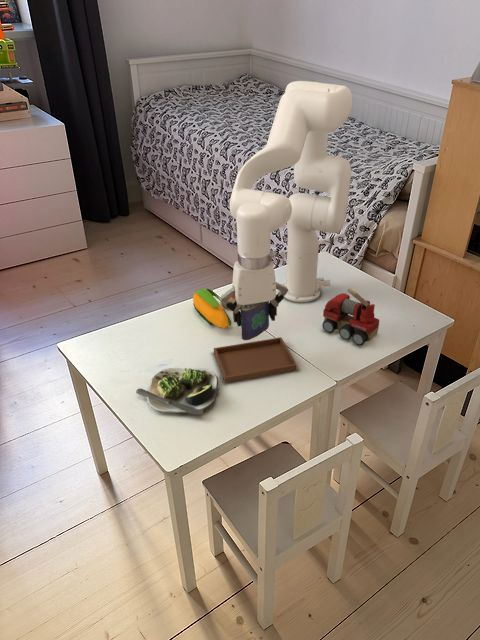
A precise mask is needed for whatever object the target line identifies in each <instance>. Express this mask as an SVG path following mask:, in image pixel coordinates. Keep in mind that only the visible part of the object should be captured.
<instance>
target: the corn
mask: <svg viewBox="0 0 480 640" xmlns="http://www.w3.org/2000/svg"><path fill="white" fill-rule="evenodd" d="M194 292H195V293H194V294H193V296H192V302H193V307H194V310H196V312H197V314H198V315H199V316H200V317H201V318H202V319H203V320H204V321H205V322H206V323H207V324H209V325H210V326H213V325H214V326H215V327H219V328H222V329H224V330H226V329H228V328H229V327H231V326H232V324H233V323H232V320H231V318H230V316H229V314H228V313H227V312H226V310H225V309H224V307H223V306H222V304H223V303H222V301H221V298H220V296H219V295H218V294H217V293H216V292H214V291H213V290H212V289H209V288H201V289H197V290H195V291H194ZM219 301H220V302H219ZM221 303H222V304H221Z"/></svg>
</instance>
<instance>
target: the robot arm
mask: <svg viewBox="0 0 480 640" xmlns="http://www.w3.org/2000/svg"><path fill="white" fill-rule="evenodd" d="M353 103H354V101H353V94H352V91H351V89H350V88H349V87H348V86H346V85H342V84H333V83H325V82H319V81H307V80H295V81H291V82H289V83H288V84H287V85H286V87H285V90H284V93H283V94H282V95H281V97H280V99H279V102H278V105H277V109H276V112H275V115H274V118H273V122H272V126H271V129H270V132H269V134H268V138H267V142H266V145H265V146H264V147H263V148H262V149H260V150H259V151H257V152H256V153H255V154H254V155H252V156H251V157H250V158H249V159H248V160H247V161H246V162H245V163H244V164H243V165H242V166H241V168H240V169H239V171H238V173H237V176H236V178H235V181H234V184H233V187H232V191H231V194H230V199H229V212H230V215H231V217H232V218H233V219H234V220H235V221H236V240H237V242H236V244H237V261H235V262H234V264H233V271H232V287H231V288H230V289H228V290H227V291H226V292H225V293H223V294H222V295H220V296H219V298H220V299H221V301H222V302H223V303H224V304H225V305H226V306H227V308H226V309H228V310H230V311H232V318H233V319H232V321H233V322H234V323H236V325H237V327H238V328H241V313H240V309H241V307H242V306H243V305H247V304H254V303H260V302H267V301H269V319H270V320H271V321H272V322H275V321H276V317H277V316H278V307H279V306H280V305H279V304H281V302H282V301H283V300H284V299H286V300H288V301H291V302H296V303H308V302H309V303H310V302H312V301H316V300H317V299H318V298H319V297H320V295H321V289H322V288H323V287H330V286H331V283H332V282H331V280H330V279H324V277H323V276H322V277H317V275H318V264H319V249H320V240H319V237H318V233H317V231H318V232H324V233H328V234H329V233H330V234H338V233H340V232H341V231H342V230H343V228H344V225H345V223H346V218H347V210H348V204H349V203H348V202H349V197H350V188H351V181H352V167H351V163H350V162H349V160H348V159H347V158H344V157H342V156H336V155H329V154H328V142H329V134H331V133H335V132H336V131H337V130H338V129H339V128H341V126H343V125H344V124H345V123H346V122H347V120H348V119H349V117H350V115H351V112H352V110H353V109H352V108H353ZM293 166H294V167H293ZM290 167H293V181H294V183H295V185H296V186H297V187H298V188H301V189H304V190H309V191H315V192H320V193H328V194H329V196H330V197H329V196H324V195H318V194H313V193H312V194H311V193H305V192H296V193H293V194H291V195H290V196H289V197H287V196H286V195H284V194H280V193H274V192H268V191H264V190H257V189H252V188H253V186H254V184H255V183H256V182H258V180H260V179H261V178H263V177H264V176H267V175H269V174H271V173H274V172H278V171H281V170H284V169H287V168H290ZM285 225H286V228H287V230H286V231H287V246H286V247H287V248H286V276H285V282H284V283H283V284H282V283H279V282H277V280H276V274H275V272H276V271H275V267H274V263H273V258H274V257H275V258H276V257H277V252H276V250H271V233H273V232H275V231H277V230H279V229H281V228H282V227H284V226H285ZM277 290H278V291H279V292H277ZM232 296H233V297H235V298H236V299H235V300H234V302H233V303H232V302H230V301H229V299H230V298H231V297H232ZM221 301H220V302H221Z"/></svg>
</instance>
